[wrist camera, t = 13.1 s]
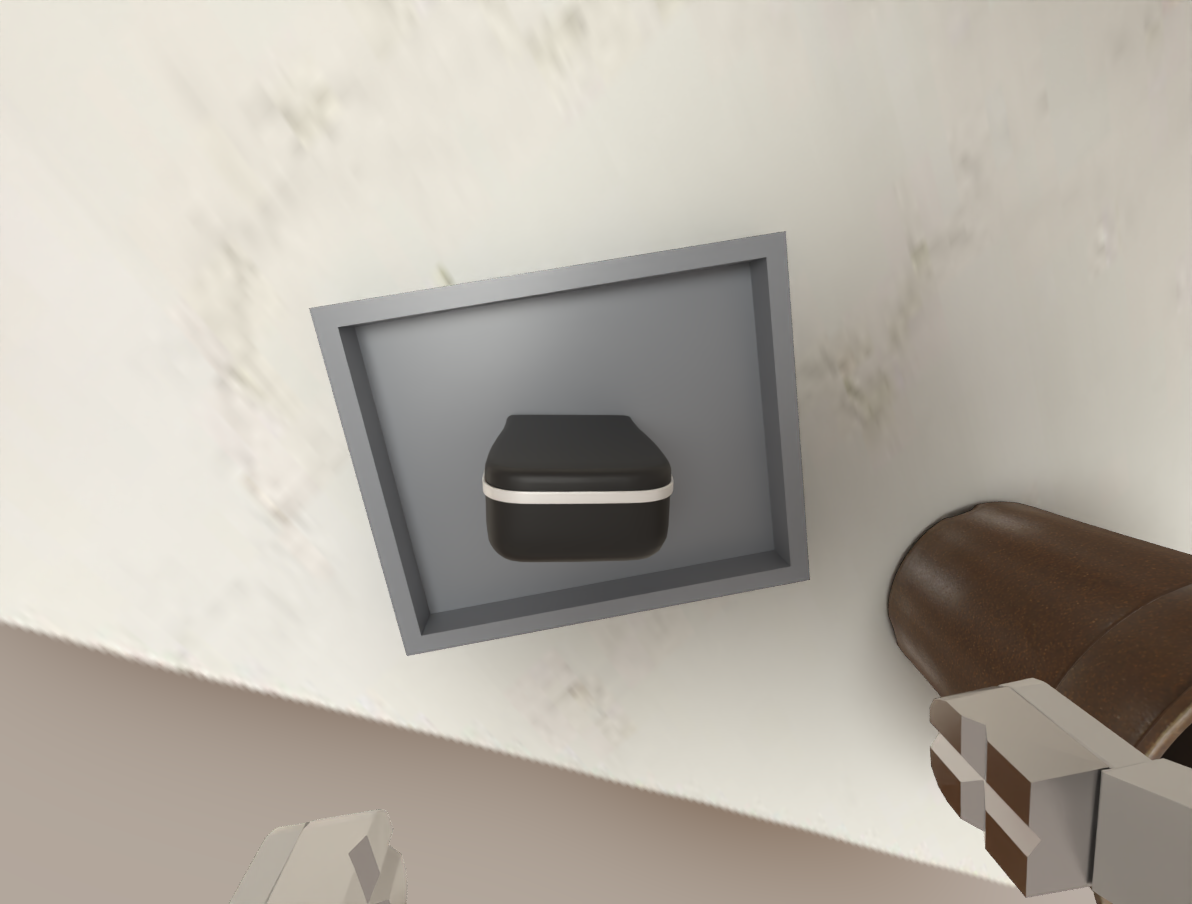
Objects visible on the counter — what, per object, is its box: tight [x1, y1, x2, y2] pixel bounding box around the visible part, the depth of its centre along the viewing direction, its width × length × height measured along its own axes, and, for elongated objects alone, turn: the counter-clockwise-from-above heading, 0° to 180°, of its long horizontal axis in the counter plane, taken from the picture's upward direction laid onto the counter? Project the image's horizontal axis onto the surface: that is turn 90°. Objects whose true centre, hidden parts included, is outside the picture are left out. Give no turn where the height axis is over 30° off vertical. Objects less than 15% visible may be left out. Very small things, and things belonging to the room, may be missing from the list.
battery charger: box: [482, 415, 673, 562], centre depth 24 cm, size 7×4×11 cm, turn 89°
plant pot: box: [888, 502, 1192, 904], centre depth 27 cm, size 16×16×16 cm
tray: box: [309, 231, 810, 656], centre depth 29 cm, size 22×18×3 cm
